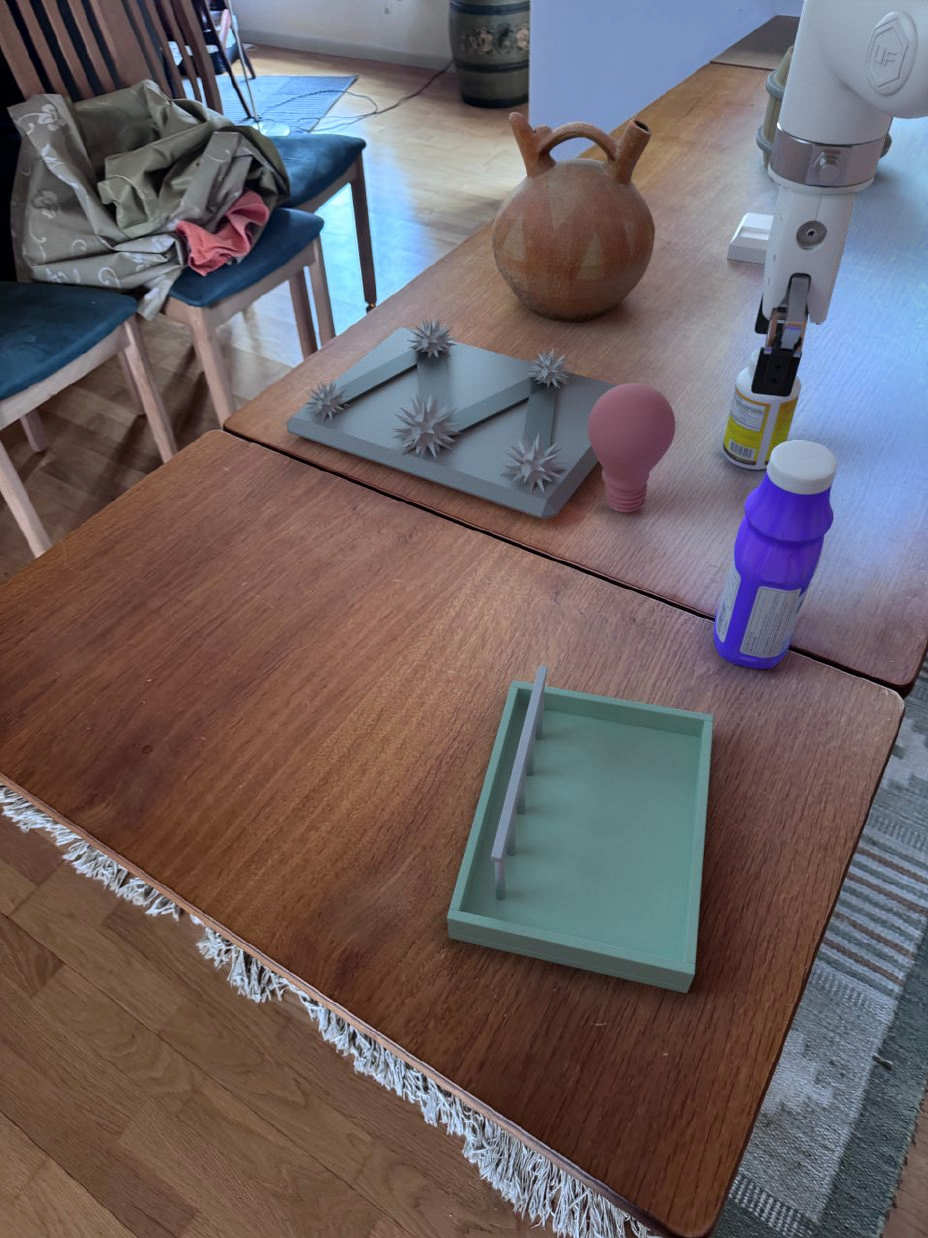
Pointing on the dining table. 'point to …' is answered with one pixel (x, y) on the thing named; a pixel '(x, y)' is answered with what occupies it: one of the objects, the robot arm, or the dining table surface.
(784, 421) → the supplement bottle
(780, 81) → the mug
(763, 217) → the white stepped block
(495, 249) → the jug
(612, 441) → the light bulb
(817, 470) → the bottle
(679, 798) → the dish rack
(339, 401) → the decorative plate
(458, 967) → the dining table surface
